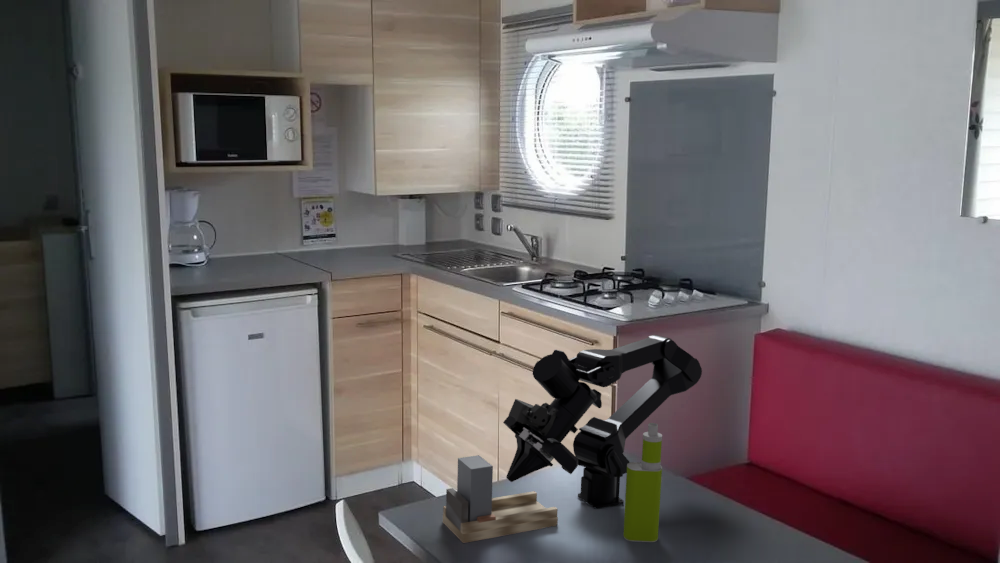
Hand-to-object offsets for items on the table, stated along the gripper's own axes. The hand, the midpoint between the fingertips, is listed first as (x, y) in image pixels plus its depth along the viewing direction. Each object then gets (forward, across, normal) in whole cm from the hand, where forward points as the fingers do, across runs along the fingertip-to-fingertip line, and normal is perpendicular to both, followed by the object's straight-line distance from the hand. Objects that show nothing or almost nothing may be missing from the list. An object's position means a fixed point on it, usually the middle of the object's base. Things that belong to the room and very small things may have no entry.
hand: (508, 479), depth 154 cm
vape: (-7, +14, +19) cm, 25 cm away
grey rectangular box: (+9, 0, -1) cm, 9 cm away
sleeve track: (+7, 0, +4) cm, 8 cm away
